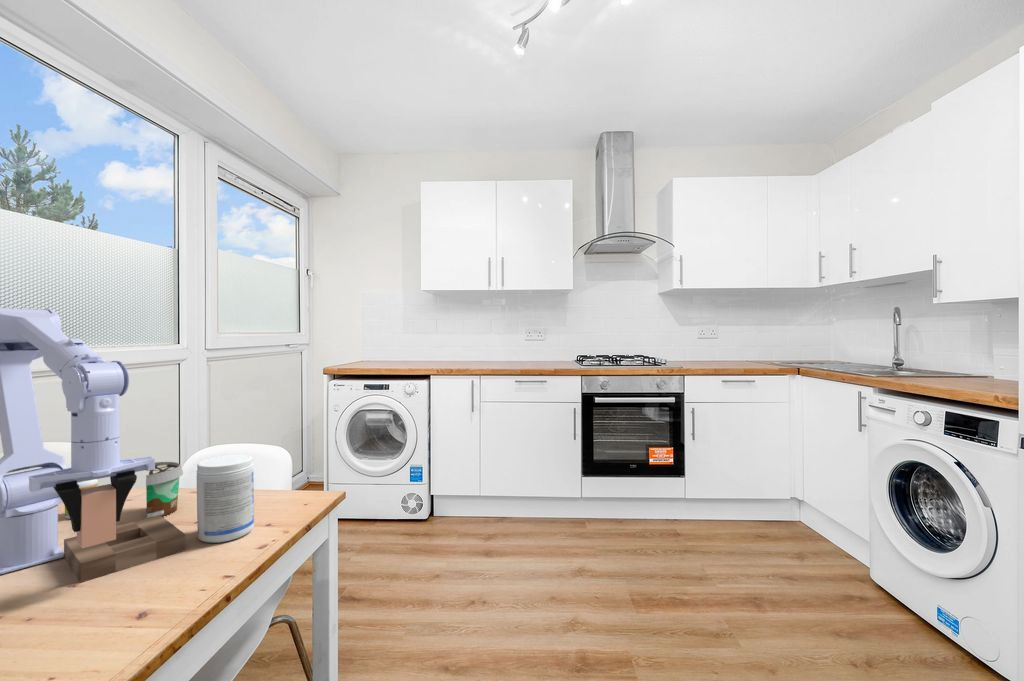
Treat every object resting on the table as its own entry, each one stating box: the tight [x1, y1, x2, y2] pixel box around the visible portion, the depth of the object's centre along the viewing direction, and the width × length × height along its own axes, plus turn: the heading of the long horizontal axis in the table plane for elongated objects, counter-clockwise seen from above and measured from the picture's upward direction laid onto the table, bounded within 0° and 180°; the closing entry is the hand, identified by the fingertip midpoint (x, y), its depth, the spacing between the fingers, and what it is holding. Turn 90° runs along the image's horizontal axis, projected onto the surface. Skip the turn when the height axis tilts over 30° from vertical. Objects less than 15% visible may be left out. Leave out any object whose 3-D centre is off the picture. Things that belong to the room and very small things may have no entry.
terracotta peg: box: [76, 483, 117, 548], centre depth 72 cm, size 4×4×8 cm
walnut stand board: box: [63, 515, 186, 583], centre depth 82 cm, size 14×14×3 cm
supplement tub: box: [196, 454, 255, 544], centre depth 91 cm, size 10×10×15 cm
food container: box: [145, 461, 184, 519], centre depth 102 cm, size 12×6×10 cm, turn 34°
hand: (96, 524), depth 72 cm, fingers closed on terracotta peg, 4 cm apart
